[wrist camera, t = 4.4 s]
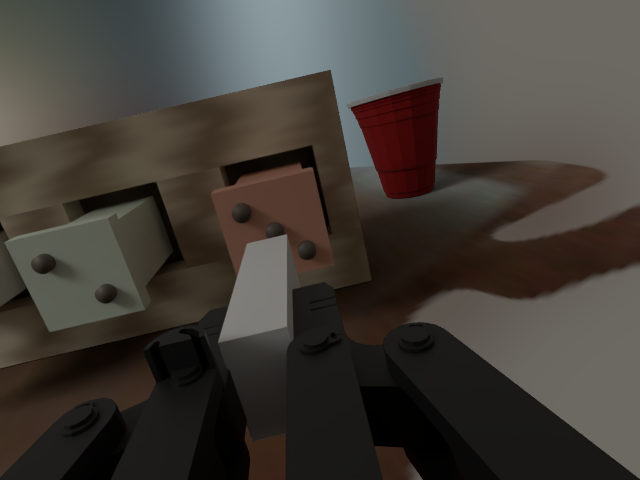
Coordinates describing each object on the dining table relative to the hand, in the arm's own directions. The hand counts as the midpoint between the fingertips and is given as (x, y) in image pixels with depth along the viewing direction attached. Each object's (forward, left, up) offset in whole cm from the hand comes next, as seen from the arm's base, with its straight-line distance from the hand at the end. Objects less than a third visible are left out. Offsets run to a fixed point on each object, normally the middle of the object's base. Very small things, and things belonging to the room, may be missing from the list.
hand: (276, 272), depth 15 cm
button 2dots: (-10, +9, -2) cm, 14 cm away
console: (-10, +17, -7) cm, 21 cm away
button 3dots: (0, +9, -2) cm, 9 cm away
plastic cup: (+14, +33, -7) cm, 37 cm away
